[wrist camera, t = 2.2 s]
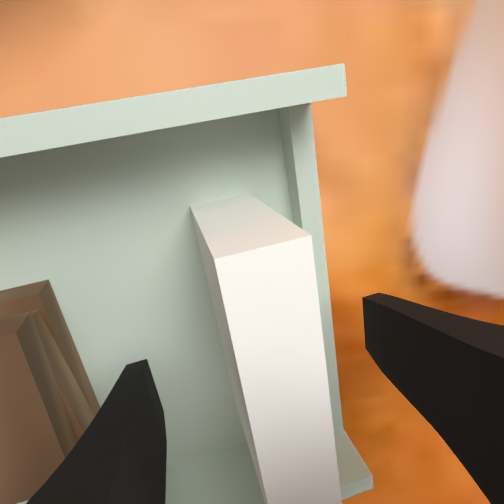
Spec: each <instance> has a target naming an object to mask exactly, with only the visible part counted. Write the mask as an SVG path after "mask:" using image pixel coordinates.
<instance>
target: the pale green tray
mask: <svg viewBox="0 0 504 504" xmlns="http://www.w3.org/2000/svg"><path fill="white" fill-rule="evenodd" d="M344 96H347V90H346V75H345V63H343V64H336V65H330V66H324V67H318V68H311V69H305V70H299V71H293V72H286V73H280V74H274V75H268V76H261V77H255V78H249V79H243V80H236V81H230V82H224V83H218V84H211V85H205V86H199V87H193V88H186V89H180V90H174V91H168V92H161V93H155V94H149V95H143V96H136V97H130V98H124V99H118V100H111V101H105V102H99V103H93V104H86V105H80V106H74V107H68V108H61V109H55V110H49V111H43V112H36V113H30V114H24V115H18V116H11V117H5V118H0V291H2V290H6V289H10V288H14V287H18V286H23V285H27V284H31V283H35V282H40V281H44V280H48V279H49V281H50V284H51V286H52V289H53V291H54V294H55V296H56V299H57V301H58V304H59V306H60V309H61V311H62V314H63V316H64V319H65V321H66V324H67V326H68V329H69V331H70V333H71V336H72V338H73V341H74V343H75V346H76V348H77V351H78V353H79V356H80V358H81V361H82V363H83V366H84V368H85V371H86V373H87V376H88V378H89V381H90V383H91V386H92V388H93V391H94V393H95V395H96V398H97V400H98V403H99V405H100V408H101V406H102V404H103V403H104V401H105V400H106V398H107V396H108V395H109V393H110V391H111V390H112V388H113V386H114V385H115V383H116V381H117V379H118V378H119V376H120V374H121V373H122V371H123V369H124V368H125V366H126V365H127V364H130V363H134V362H137V361H141V360H144V359H147V361H148V364H149V367H150V370H151V373H152V376H153V379H154V382H155V385H156V388H157V391H158V394H159V397H160V401H161V404H162V407H163V410H164V417H165V427H166V438H167V461H166V497H165V504H265V501H264V498H263V494H262V491H261V488H260V484H259V481H258V477H257V474H256V470H255V467H254V464H253V460H252V457H251V453H250V450H249V447H248V443H247V440H246V436H245V433H244V430H243V426H242V423H241V419H240V416H239V412H238V409H237V406H236V402H235V399H234V394H233V390H232V386H231V382H230V377H229V373H228V369H227V364H226V360H225V356H224V351H223V347H222V343H221V338H220V334H219V330H218V325H217V321H216V317H215V313H214V308H213V304H212V300H211V295H210V291H209V287H208V282H207V278H206V274H205V269H204V265H203V261H202V257H201V252H200V248H199V244H198V239H197V235H196V231H195V226H194V222H193V218H192V213H191V209H190V205H193V204H198V203H202V202H207V201H212V200H216V199H221V198H225V197H230V196H235V195H239V194H244V193H249V194H251V195H252V196H254V197H255V198H257V199H258V200H260V201H261V202H263V203H264V204H266V205H267V206H269V207H270V208H272V209H273V210H275V211H276V212H277V213H279V214H280V215H282V216H283V217H285V218H286V219H288V220H289V221H291V222H292V223H294V224H295V225H297V226H298V227H300V228H301V229H303V230H304V231H306V232H307V233H309V234H310V235H311V236H312V244H313V253H314V262H315V271H316V280H317V289H318V297H319V306H320V315H321V324H322V333H323V341H324V350H325V359H326V368H327V377H328V385H329V394H330V403H331V412H332V421H333V429H334V438H335V447H336V456H337V465H338V474H339V482H340V491H341V500H344V499H347V498H349V497H352V496H354V495H357V494H359V493H362V492H365V491H367V490H370V489H372V488H373V477H372V473H371V472H370V470H369V468H368V467H367V465H366V464H365V462H364V460H363V459H362V457H361V456H360V454H359V453H358V451H357V449H356V448H355V446H354V445H353V443H352V441H351V440H350V438H349V437H348V435H347V433H346V432H345V430H344V429H343V421H342V411H341V401H340V391H339V381H338V371H337V361H336V351H335V341H334V331H333V322H332V312H331V302H330V292H329V282H328V272H327V262H326V252H325V242H324V232H323V222H322V212H321V202H320V193H319V183H318V173H317V163H316V153H315V143H314V133H313V123H312V113H311V102H317V101H322V100H328V99H333V98H339V97H344ZM28 501H29V500H27V501H24V502H20V503H17V504H26V503H27V502H28Z"/></svg>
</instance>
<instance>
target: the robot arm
mask: <svg viewBox="0 0 504 504" xmlns="http://www.w3.org/2000/svg"><path fill="white" fill-rule="evenodd" d="M362 298H363V314H364V329H365V345H366V349H367V351H368V352H369V354H370V355H371V357H372V358H373V360H374V361H375V363H376V364H377V365H378V367H379V368H380V369H381V371H382V372H383V373H384V374H385V376H386V377H387V378H388V379H389V380H390V381H391V382H392V383H393V384H394V385H395V387H396V388H397V389H398V390H399V391H400V392H401V393H402V394H403V395H404V396H405V397H406V398H407V400H408V401H409V402H410V403H411V404H412V405H413V406H414V407H415V408H416V409H417V410H418V411H419V412H420V413H421V415H422V416H423V417H424V418H425V419H426V420H427V421H428V422H429V423H430V424H431V425H432V426H433V428H434V429H435V430H436V431H437V432H438V433H439V435H440V436H441V437H442V438H443V440H444V441H445V442H446V443H447V445H448V446H449V447H450V449H451V450H452V451H453V453H454V454H455V455H456V456H457V458H458V459H459V460H460V462H461V463H462V464H463V466H464V467H465V468H466V470H467V471H468V472H469V474H470V475H471V477H472V478H473V479H474V481H475V482H476V483H477V485H478V486H479V488H480V489H481V490H482V492H483V493H484V494H485V496H486V497H487V499H488V500H489V502H490V503H491V504H504V326H502V325H497V324H492V323H487V322H483V321H478V320H474V319H470V318H466V317H462V316H458V315H455V314H451V313H448V312H444V311H441V310H437V309H434V308H430V307H427V306H424V305H421V304H417V303H414V302H411V301H408V300H404V299H401V298H398V297H394V296H390V295H387V294H382V293H376V294H373V295H369V296H366V297H362ZM166 461H167V438H166V427H165V417H164V410H163V407H162V404H161V401H160V397H159V394H158V391H157V388H156V385H155V382H154V379H153V376H152V373H151V370H150V367H149V364H148V361H147V359H144V360H141V361H137V362H134V363H130V364H127V365H126V366H125V368H124V369H123V371H122V373H121V374H120V376H119V378H118V379H117V381H116V383H115V385H114V386H113V388H112V390H111V391H110V393H109V395H108V396H107V398H106V400H105V401H104V403H103V404H102V406H101V408H100V409H99V411H98V412H97V414H96V416H95V417H94V419H93V420H92V422H91V423H90V425H89V426H88V428H87V429H86V430H85V432H84V433H83V435H82V436H81V438H80V439H79V441H78V442H77V443H76V445H75V446H74V448H73V449H72V450H71V451H70V453H69V454H68V455H67V457H66V458H65V459H64V460H63V462H62V463H61V464H60V465H59V467H58V468H57V469H56V470H55V471H54V473H53V474H52V475H51V476H50V477H49V479H48V480H47V481H46V482H45V483H44V484H43V485H42V487H41V488H40V489H39V490H38V491H37V492H36V493H35V494H34V495H33V496H32V497H31V498H30V499H29V501H28V502H27V503H26V504H165V497H166Z"/></svg>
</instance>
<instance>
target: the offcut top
mask: <svg viewBox="0 0 504 504" xmlns="http://www.w3.org/2000/svg"><path fill="white" fill-rule="evenodd" d="M77 442H78V439H77V437H76V434H75V431H74V429H73V426H72V423H71V420H70V418H69V415H68V412H67V410H66V407H65V404H64V401H63V399H62V396H61V393H60V391H59V388H58V385H57V382H56V380H55V377H54V374H53V371H52V369H51V366H50V363H49V361H48V358H47V355H46V352H45V350H44V347H43V344H42V342H41V339H40V336H39V333H38V331H37V328H36V325H35V323H34V320H33V317H32V314H31V312H26V313H21V314H16V315H12V316H7V317H2V318H0V504H17V503H20V502H24V501H27V500H29V499H30V498H31V497H32V496H33V495H34V494H35V493H36V492H37V491H38V490H39V489H40V488H41V487H42V485H43V484H44V483H45V482H46V481H47V480H48V479H49V477H50V476H51V475H52V474H53V473H54V471H55V470H56V469H57V468H58V467H59V465H60V464H61V463H62V462H63V460H64V459H65V458H66V457H67V455H68V454H69V453H70V451H71V450H72V449H73V448H74V446H75V445H76V443H77Z"/></svg>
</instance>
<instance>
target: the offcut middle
mask: <svg viewBox="0 0 504 504" xmlns="http://www.w3.org/2000/svg"><path fill="white" fill-rule="evenodd" d="M31 314H32V317H33V320H34V323H35V325H36V328H37V331H38V333H39V336H40V339H41V342H42V344H43V347H44V350H45V352H46V355H47V358H48V361H49V363H50V366H51V369H52V371H53V374H54V377H55V380H56V382H57V385H58V388H59V391H60V393H61V396H62V399H63V401H64V404H65V407H66V410H67V412H68V415H69V418H70V420H71V423H72V426H73V429H74V431H75V434H76V437H77V439H78V441H79V439H80V438H81V436H82V435H83V433H84V432H85V430H86V429H87V428H88V426H89V425H90V423H91V422H92V420H93V419H94V417H95V416H94V414H93V412H92V410H91V408H90V406H89V405H88V403H87V401H86V399H85V397H84V395H83V393H82V391H81V389H80V387H79V385H78V384H77V382H76V380H75V378H74V376H73V374H72V372H71V370H70V368H69V366H68V365H67V363H66V361H65V359H64V357H63V355H62V353H61V351H60V349H59V347H58V345H57V344H56V342H55V340H54V338H53V336H52V334H51V332H50V330H49V328H48V326H47V324H46V323H45V321H44V319H43V317H42V315H41V313H40V311H39V309H37V310H34V311H31Z"/></svg>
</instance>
